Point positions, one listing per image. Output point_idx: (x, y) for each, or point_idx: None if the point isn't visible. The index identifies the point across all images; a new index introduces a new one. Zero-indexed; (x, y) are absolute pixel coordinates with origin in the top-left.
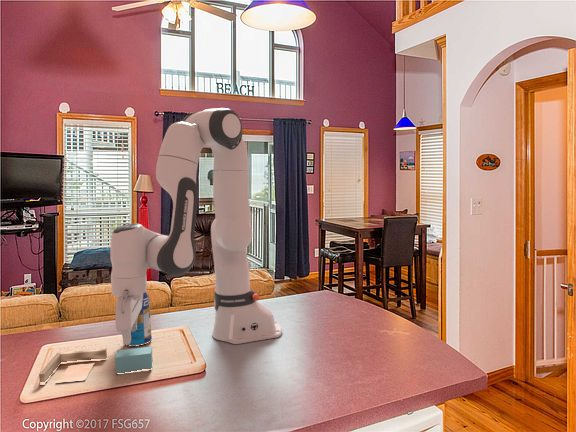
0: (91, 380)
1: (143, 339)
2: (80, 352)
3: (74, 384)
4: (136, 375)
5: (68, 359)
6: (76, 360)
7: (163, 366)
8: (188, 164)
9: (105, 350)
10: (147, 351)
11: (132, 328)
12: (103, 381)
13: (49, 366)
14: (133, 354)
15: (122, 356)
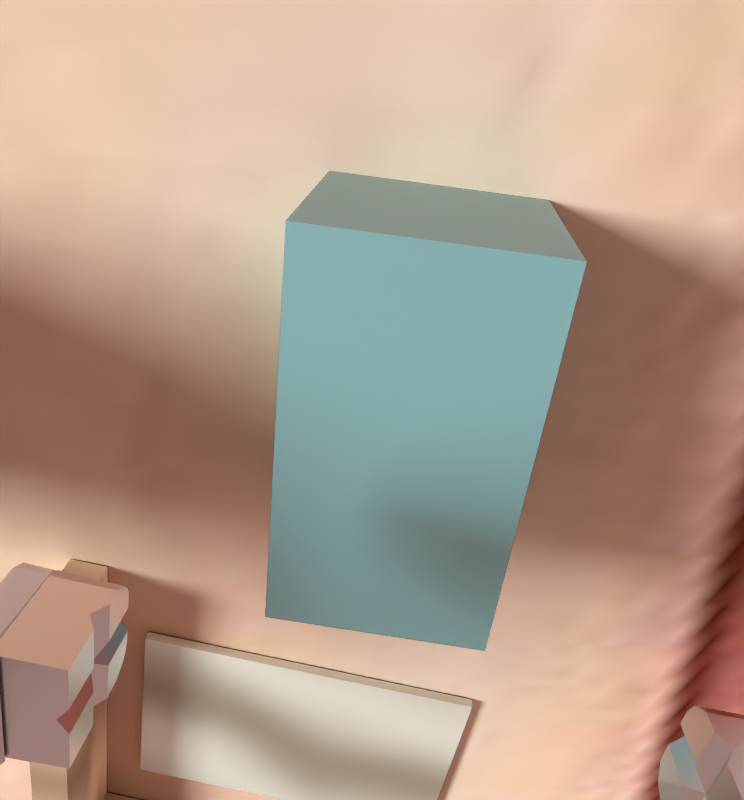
0: (478, 666)
1: None
2: (67, 783)
3: (489, 746)
4: (580, 362)
5: (91, 793)
6: (97, 745)
7: (490, 43)
8: None
9: None
10: (481, 303)
11: (91, 664)
12: (548, 602)
13: None
14: (492, 479)
15: (494, 588)
